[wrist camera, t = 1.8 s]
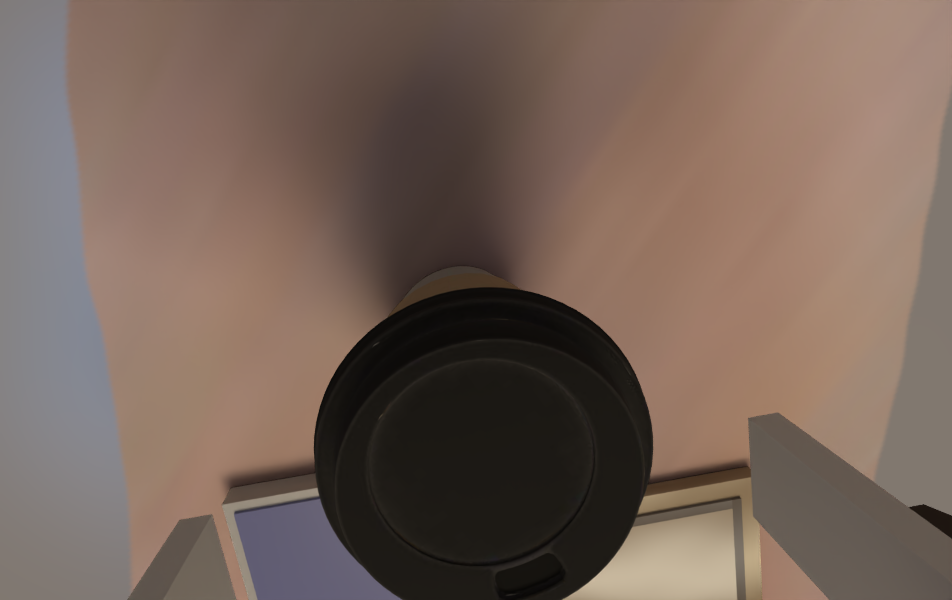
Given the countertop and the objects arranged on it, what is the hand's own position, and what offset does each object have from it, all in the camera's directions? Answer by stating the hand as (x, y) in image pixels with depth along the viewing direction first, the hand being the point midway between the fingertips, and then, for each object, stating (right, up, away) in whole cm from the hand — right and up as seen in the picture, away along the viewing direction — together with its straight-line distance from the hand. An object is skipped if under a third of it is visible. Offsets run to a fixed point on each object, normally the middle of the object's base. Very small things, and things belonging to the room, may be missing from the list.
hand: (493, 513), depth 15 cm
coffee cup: (-1, +4, +15) cm, 16 cm away
